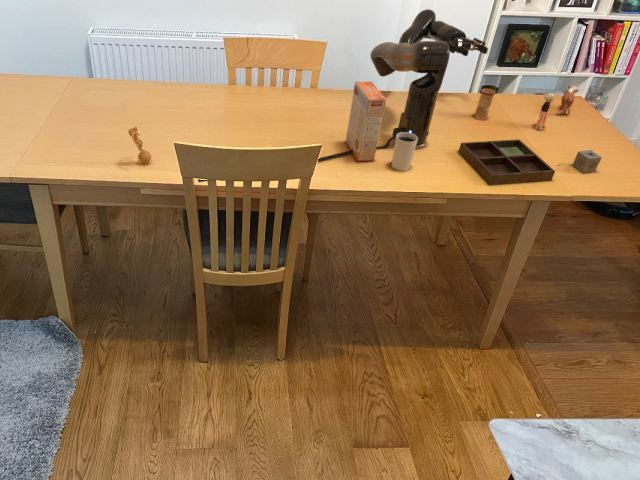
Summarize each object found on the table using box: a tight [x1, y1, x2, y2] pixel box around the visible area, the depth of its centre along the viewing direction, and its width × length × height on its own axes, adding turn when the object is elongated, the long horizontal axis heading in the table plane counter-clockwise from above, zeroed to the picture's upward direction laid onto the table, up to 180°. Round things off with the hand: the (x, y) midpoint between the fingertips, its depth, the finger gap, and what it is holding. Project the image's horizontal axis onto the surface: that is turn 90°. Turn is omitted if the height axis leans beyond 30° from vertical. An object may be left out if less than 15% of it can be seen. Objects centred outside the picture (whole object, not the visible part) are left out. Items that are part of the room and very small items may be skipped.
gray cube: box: [572, 149, 602, 174], centre depth 189 cm, size 5×5×5 cm
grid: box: [458, 138, 556, 186], centre depth 188 cm, size 21×21×3 cm
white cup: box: [391, 132, 418, 171], centre depth 183 cm, size 7×7×10 cm
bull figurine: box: [557, 85, 579, 115], centre depth 222 cm, size 4×13×8 cm, turn 148°
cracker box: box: [345, 81, 387, 162], centre depth 186 cm, size 14×6×21 cm, turn 9°
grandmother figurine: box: [534, 92, 556, 131], centre depth 208 cm, size 8×4×13 cm, turn 169°
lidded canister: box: [473, 87, 496, 121], centre depth 214 cm, size 5×5×10 cm
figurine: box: [128, 126, 152, 164], centre depth 178 cm, size 8×6×12 cm
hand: (477, 52), depth 212 cm, fingers open, 8 cm apart
